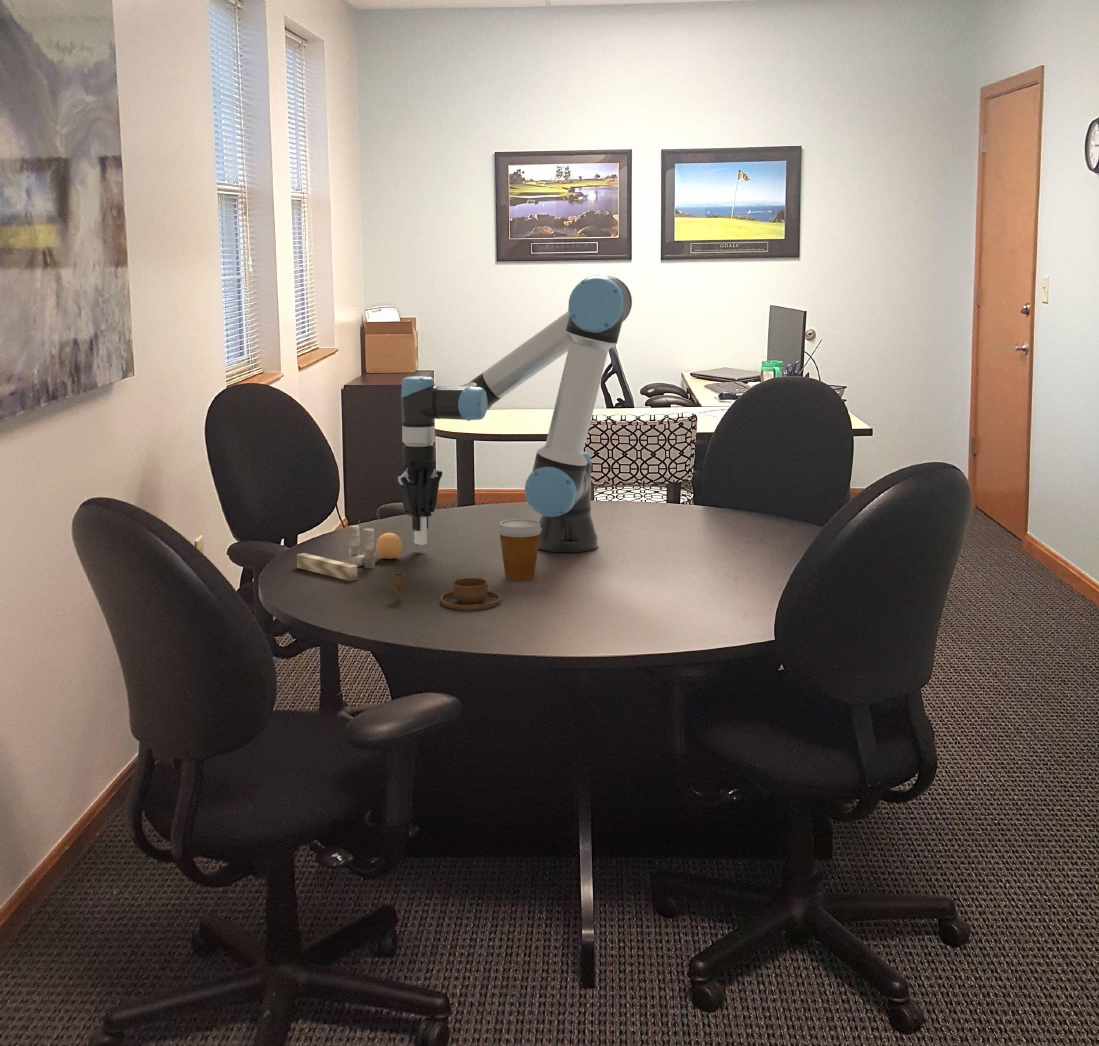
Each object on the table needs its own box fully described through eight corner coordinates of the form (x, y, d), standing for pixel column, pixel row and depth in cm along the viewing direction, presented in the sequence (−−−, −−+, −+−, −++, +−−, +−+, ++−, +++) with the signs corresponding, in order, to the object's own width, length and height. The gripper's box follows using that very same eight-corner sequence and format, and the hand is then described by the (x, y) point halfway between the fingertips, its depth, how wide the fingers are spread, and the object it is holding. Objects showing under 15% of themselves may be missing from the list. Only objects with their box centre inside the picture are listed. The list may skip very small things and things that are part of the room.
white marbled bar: (357, 579, 253) (357, 565, 253) (350, 581, 252) (349, 567, 251) (304, 566, 265) (304, 552, 264) (297, 567, 263) (296, 554, 263)
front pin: (377, 552, 267) (347, 559, 261) (378, 563, 268) (348, 569, 261) (370, 551, 269) (340, 558, 263) (371, 562, 269) (341, 569, 263)
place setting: (464, 621, 226) (464, 590, 224) (387, 604, 237) (386, 575, 236) (520, 601, 240) (520, 572, 238) (444, 586, 251) (444, 558, 250)
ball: (385, 552, 266) (398, 566, 271) (398, 530, 268) (411, 544, 273) (366, 547, 270) (380, 560, 274) (379, 525, 272) (392, 539, 276)
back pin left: (377, 566, 264) (376, 529, 263) (369, 568, 263) (367, 531, 261) (370, 565, 266) (369, 528, 264) (361, 567, 264) (360, 529, 262)
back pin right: (362, 563, 267) (361, 526, 266) (354, 565, 266) (353, 528, 264) (355, 561, 269) (354, 524, 267) (347, 563, 267) (346, 526, 265)
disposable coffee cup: (536, 584, 250) (536, 528, 247) (492, 582, 252) (492, 526, 249) (546, 573, 259) (546, 519, 256) (503, 571, 261) (503, 517, 258)
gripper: (427, 439, 281) (429, 536, 286) (386, 445, 271) (389, 545, 276) (450, 442, 276) (451, 541, 281) (409, 448, 267) (411, 550, 272)
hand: (420, 543), depth 279 cm, fingers closed
